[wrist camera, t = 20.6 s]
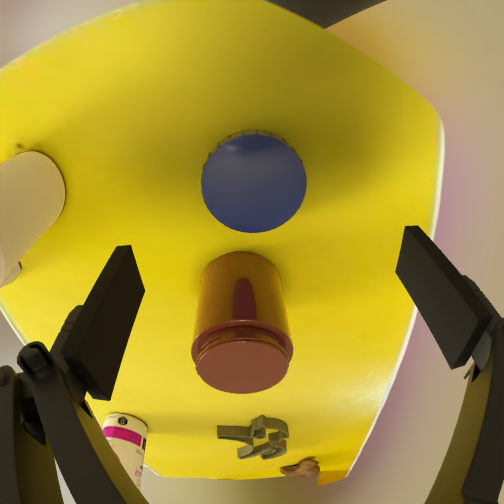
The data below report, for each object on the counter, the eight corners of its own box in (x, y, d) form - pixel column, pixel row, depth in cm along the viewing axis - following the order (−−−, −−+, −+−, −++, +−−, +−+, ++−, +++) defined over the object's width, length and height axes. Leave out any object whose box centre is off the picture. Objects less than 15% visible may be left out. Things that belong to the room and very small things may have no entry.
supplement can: (98, 411, 45) (81, 481, 33) (133, 411, 44) (120, 488, 32) (121, 430, 50) (110, 495, 37) (156, 431, 49) (148, 500, 36)
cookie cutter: (211, 421, 46) (211, 431, 44) (280, 411, 45) (282, 422, 43) (241, 454, 56) (241, 462, 54) (296, 446, 54) (297, 454, 53)
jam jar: (279, 248, 29) (298, 330, 20) (280, 311, 33) (294, 393, 24) (194, 254, 29) (178, 338, 20) (206, 317, 33) (200, 399, 24)
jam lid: (211, 121, 22) (209, 124, 21) (313, 141, 23) (319, 146, 22) (196, 215, 27) (194, 225, 25) (288, 230, 28) (292, 240, 26)
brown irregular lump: (315, 455, 59) (317, 468, 56) (320, 465, 64) (322, 477, 61) (274, 462, 60) (276, 475, 57) (283, 472, 65) (284, 483, 62)
